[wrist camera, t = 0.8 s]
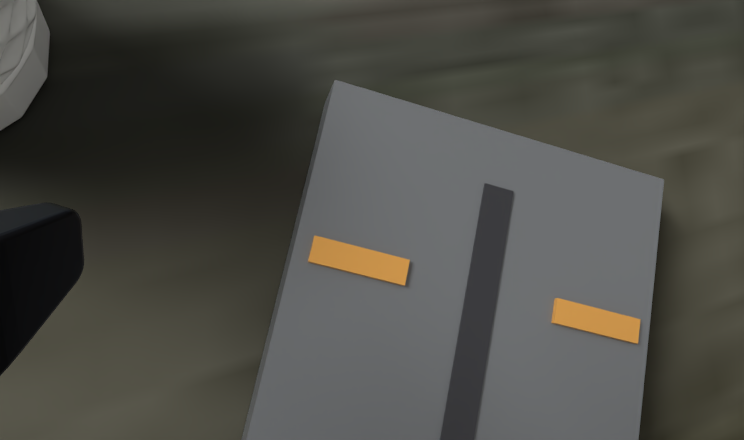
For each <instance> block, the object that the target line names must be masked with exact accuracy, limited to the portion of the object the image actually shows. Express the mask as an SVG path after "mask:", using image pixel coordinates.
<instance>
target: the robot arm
mask: <svg viewBox="0 0 744 440" xmlns="http://www.w3.org/2000/svg"><path fill="white" fill-rule="evenodd" d="M83 266H84V253H83V239H82V226H81V219H80V217H79V215H78V213H77V212H76V211H74V210H73V209H69V208H66V207H63V206H60V205H56V204H53V203H40V204H34V205H28V206H23V207H17V208H11V209H6V210H0V375H1V374H2V373H3V372H4V371H5V370H6V369H7V368H8V367H9V366H10V364H11V363H12V362H13V361H14V360H15V358H16V357H17V356H18V355H19V354H20V353H21V351H22V350H23V349H24V348H25V346H26V345H27V344H28V343H29V341H30V340H31V339H32V338H33V336H34V335H35V334H36V333H37V331H38V330H39V329H40V327H41V326H42V325H43V324H44V322H45V321H46V320H47V319H48V317H49V316H50V315H51V314H52V312H53V311H54V310H55V309H56V307H57V306H58V305H59V304H60V302H61V301H62V300H63V299H64V297H65V296H66V295H67V294H68V292H69V291H70V290H71V288H72V287H73V286H74V285H75V283H76V282H77V281H78V279H79V277H80V275H81V273H82V270H83Z"/></svg>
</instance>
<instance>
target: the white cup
mask: <svg viewBox="0 0 744 440" xmlns="http://www.w3.org/2000/svg"><path fill="white" fill-rule="evenodd" d="M49 42H50V31H49V28H48V25H47V23H46V21H45V18H44V16H43V13H42V11H41V9H40V6H39V4H38V1H37V0H0V131H1V130H2V129H4V128H5V127H7V126H9V125H10V124H12V123H13V122H15V121H17V120H18V119H20V118H21V117H22V116H23V115H24V113H25V112H26V110H27V108H28V107H29V105H30V104H31V102H32V101H33V99H34V97H35V96H36V94H37V93H38V91H39V90H40V88H41V86H42V85H43V83H44V82H45V80H46V79H47V76H48V59H49Z"/></svg>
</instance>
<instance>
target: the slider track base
mask: <svg viewBox="0 0 744 440" xmlns="http://www.w3.org/2000/svg"><path fill="white" fill-rule="evenodd" d="M663 186H664V179H661V178H657V177H654V176H651V175H647V174H644V173H641V172H637V171H634V170H631V169H628V168H624V167H621V166H618V165H614V164H611V163H608V162H605V161H601V160H598V159H595V158H591V157H588V156H585V155H582V154H578V153H575V152H572V151H568V150H565V149H562V148H558V147H555V146H552V145H549V144H545V143H542V142H539V141H535V140H532V139H529V138H526V137H522V136H519V135H516V134H512V133H509V132H506V131H503V130H499V129H496V128H493V127H489V126H486V125H483V124H479V123H476V122H473V121H470V120H466V119H463V118H460V117H456V116H453V115H450V114H447V113H443V112H440V111H437V110H433V109H430V108H427V107H424V106H420V105H417V104H414V103H410V102H407V101H404V100H400V99H397V98H394V97H391V96H387V95H384V94H381V93H377V92H374V91H371V90H368V89H364V88H361V87H358V86H354V85H351V84H348V83H345V82H341V81H338V80H335V81H334V83H333V86H332V88H331V90H330V92H329V95H328V97H327V99H326V102H325V104H324V108H323V112H322V116H321V121H320V125H319V129H318V133H317V137H316V141H315V145H314V149H313V153H312V157H311V161H310V165H309V169H308V173H307V177H306V181H305V185H304V189H303V193H302V197H301V201H300V205H299V209H298V213H297V217H296V221H295V225H294V229H293V233H292V237H291V241H290V246H289V250H288V254H287V258H286V262H285V266H284V270H283V274H282V278H281V282H280V286H279V290H278V294H277V298H276V302H275V306H274V310H273V314H272V318H271V322H270V326H269V330H268V334H267V338H266V342H265V346H264V350H263V354H262V358H261V362H260V366H259V371H258V375H257V379H256V383H255V387H254V391H253V395H252V399H251V403H250V407H249V411H248V415H247V419H246V423H245V427H244V431H243V435H242V439H241V440H639V430H640V420H641V410H642V399H643V389H644V379H645V369H646V359H647V349H648V338H649V328H650V318H651V308H652V298H653V288H654V278H655V267H656V257H657V247H658V237H659V227H660V217H661V206H662V196H663Z"/></svg>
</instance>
